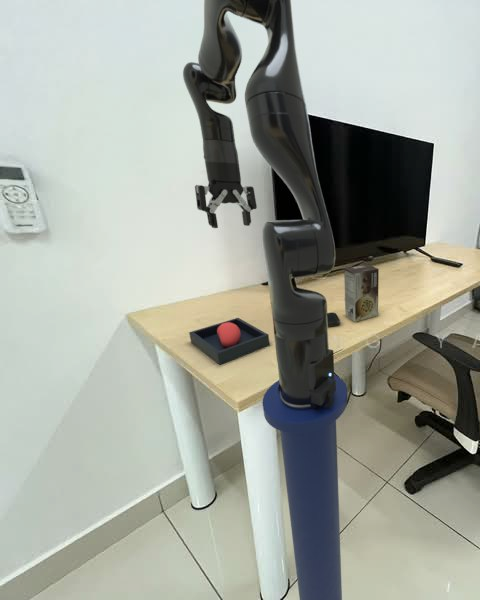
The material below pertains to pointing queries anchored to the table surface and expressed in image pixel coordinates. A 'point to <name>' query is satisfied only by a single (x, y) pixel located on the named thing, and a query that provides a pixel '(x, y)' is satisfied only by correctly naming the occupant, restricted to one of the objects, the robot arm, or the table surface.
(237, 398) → the table surface
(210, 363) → the table surface
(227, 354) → the tray
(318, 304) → the robot arm
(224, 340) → the stress ball
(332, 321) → the phone
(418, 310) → the table surface
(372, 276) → the coffee box
